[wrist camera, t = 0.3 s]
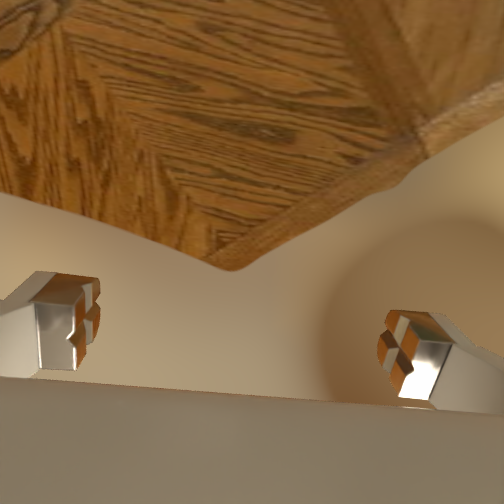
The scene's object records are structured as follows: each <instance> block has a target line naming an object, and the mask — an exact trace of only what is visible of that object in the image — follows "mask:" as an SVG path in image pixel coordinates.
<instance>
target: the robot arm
mask: <svg viewBox="0 0 504 504" xmlns="http://www.w3.org/2000/svg"><path fill="white" fill-rule="evenodd" d="M99 294H100V281H99V279H98V278H94V277H86V276H77V275H69V274H61V273H57V272H43V271H36V272H35V273H34V274H32V275H31V276H30V277H29V278H28V279H27V280H26V281H24V282H23V283H22V284H21V285H20V286H19V287H18V288H17V289H15V290H14V292H12V293H11V294H10V295H9V296H8V297H7V298H6V299H4V300H0V504H504V358H503V357H501V356H499V355H497V354H495V353H493V352H491V351H489V350H487V349H485V348H483V347H479V346H476V345H475V344H474V343H472V341H471V340H470V339H469V338H468V337H466V335H464V333H463V332H462V331H461V330H460V329H459V328H458V327H457V326H456V325H455V324H454V323H453V322H452V321H451V320H450V319H449V318H448V317H447V316H446V315H443V314H440V313H428V312H416V311H405V310H390V312H389V313H388V315H387V317H386V320H385V325H386V327H387V330H386V331H385V332H384V333H383V334H381V335H380V338H379V341H378V345H377V355H378V360H379V362H380V364H381V366H382V368H383V369H385V370H386V371H388V372H389V373H390V376H389V381H390V382H391V384H392V386H393V388H394V389H395V391H396V393H397V395H398V396H399V397H408V398H417V399H425V400H429V402H430V403H431V404H432V405H433V406H435V407H436V408H437V409H425V408H412V407H398V406H385V405H373V404H360V403H346V402H333V401H319V400H306V399H294V398H280V397H268V396H255V395H241V394H228V393H215V392H203V391H189V390H176V389H164V388H149V387H137V386H124V385H111V384H98V383H85V382H71V381H58V380H46V379H33V378H29V377H30V376H32V375H33V374H35V373H36V372H38V371H39V369H51V370H69V371H70V370H71V371H77V369H78V367H79V365H80V364H81V362H82V360H83V358H84V357H85V355H86V345H88V344H90V343H92V342H93V340H94V338H95V337H96V334H97V331H98V327H99V322H100V307H99V306H98V304H97V303H96V302H95V301H96V299H97V298H98V296H99Z"/></svg>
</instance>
